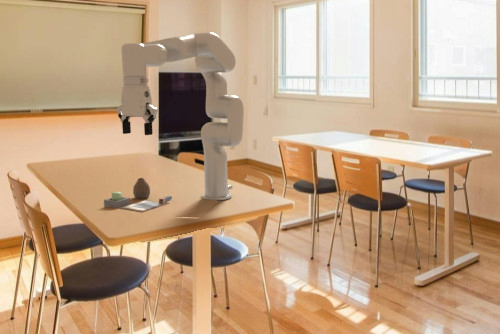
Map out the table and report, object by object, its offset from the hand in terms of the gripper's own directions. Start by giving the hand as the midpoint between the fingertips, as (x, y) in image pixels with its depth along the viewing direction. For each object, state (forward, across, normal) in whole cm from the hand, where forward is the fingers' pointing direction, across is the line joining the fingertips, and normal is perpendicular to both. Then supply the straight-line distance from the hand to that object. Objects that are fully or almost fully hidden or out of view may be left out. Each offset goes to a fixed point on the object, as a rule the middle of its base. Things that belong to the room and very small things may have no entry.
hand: (137, 134), depth 167 cm
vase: (+31, +26, -28) cm, 49 cm away
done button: (+30, +26, -14) cm, 42 cm away
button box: (+31, +26, -14) cm, 43 cm away
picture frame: (+31, +15, -18) cm, 39 cm away
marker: (+31, +13, -28) cm, 43 cm away
